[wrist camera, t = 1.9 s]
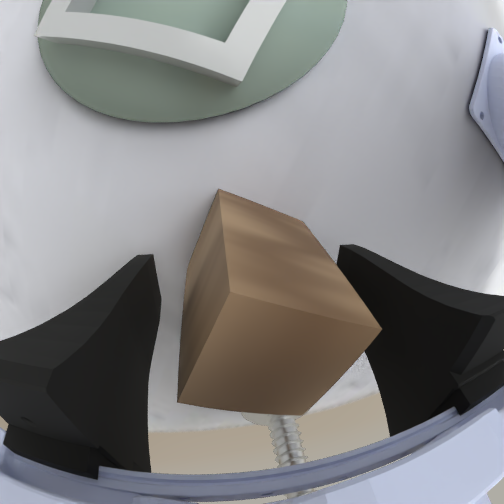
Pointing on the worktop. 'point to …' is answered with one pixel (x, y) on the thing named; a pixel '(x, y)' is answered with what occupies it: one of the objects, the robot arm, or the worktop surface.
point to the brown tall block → (265, 314)
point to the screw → (283, 441)
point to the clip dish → (182, 52)
